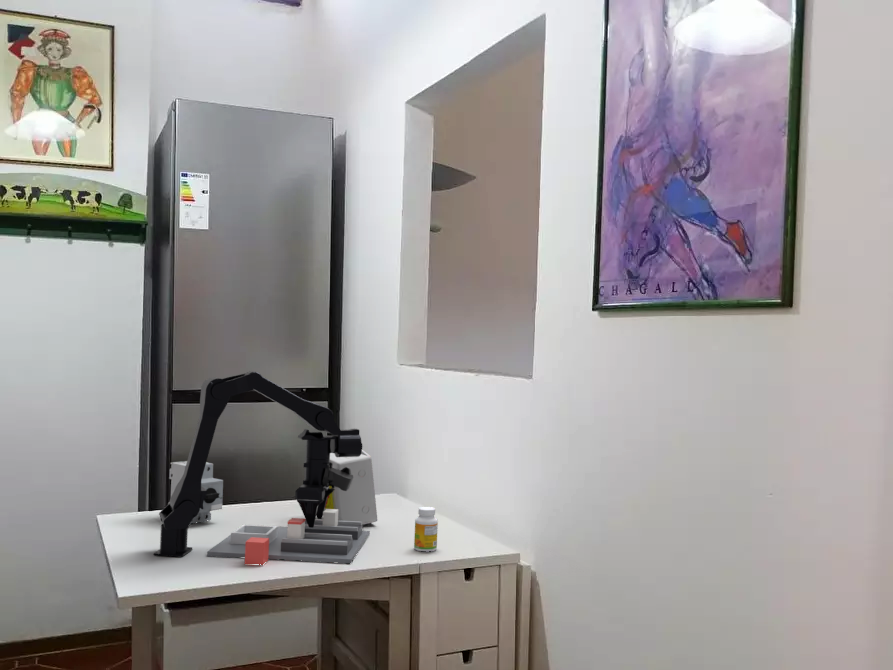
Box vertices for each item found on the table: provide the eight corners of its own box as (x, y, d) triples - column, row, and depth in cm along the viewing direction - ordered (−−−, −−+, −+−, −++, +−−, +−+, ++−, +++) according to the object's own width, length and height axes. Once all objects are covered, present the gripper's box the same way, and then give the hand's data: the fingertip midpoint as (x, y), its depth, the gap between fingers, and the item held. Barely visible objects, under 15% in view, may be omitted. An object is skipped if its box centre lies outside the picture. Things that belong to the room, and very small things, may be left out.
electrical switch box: (306, 526, 219) (299, 453, 218) (358, 514, 226) (350, 444, 225) (324, 539, 206) (316, 461, 205) (378, 526, 213) (370, 451, 212)
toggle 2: (334, 528, 196) (335, 512, 196) (322, 527, 196) (323, 512, 196) (337, 524, 200) (338, 509, 200) (325, 524, 200) (326, 508, 200)
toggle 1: (300, 541, 182) (301, 522, 182) (286, 540, 182) (287, 521, 182) (304, 537, 186) (305, 518, 186) (291, 536, 186) (292, 517, 186)
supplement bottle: (410, 547, 193) (412, 506, 193) (432, 545, 195) (433, 505, 195) (418, 552, 188) (419, 511, 188) (439, 551, 190) (441, 510, 190)
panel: (350, 564, 176) (351, 546, 176) (207, 556, 178) (207, 538, 178) (369, 535, 203) (370, 519, 203) (244, 528, 205) (245, 513, 205)
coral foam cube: (263, 566, 172) (264, 542, 172) (244, 565, 172) (245, 541, 172) (268, 561, 176) (269, 538, 176) (250, 560, 176) (251, 537, 176)
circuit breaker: (200, 529, 202) (203, 469, 203) (167, 519, 211) (170, 462, 211) (225, 524, 208) (227, 466, 209) (192, 515, 217) (194, 459, 217)
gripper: (344, 465, 184) (341, 533, 184) (357, 454, 203) (355, 516, 202) (295, 463, 185) (293, 531, 184) (313, 452, 203) (311, 514, 203)
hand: (315, 523), depth 194 cm, fingers open, 9 cm apart
